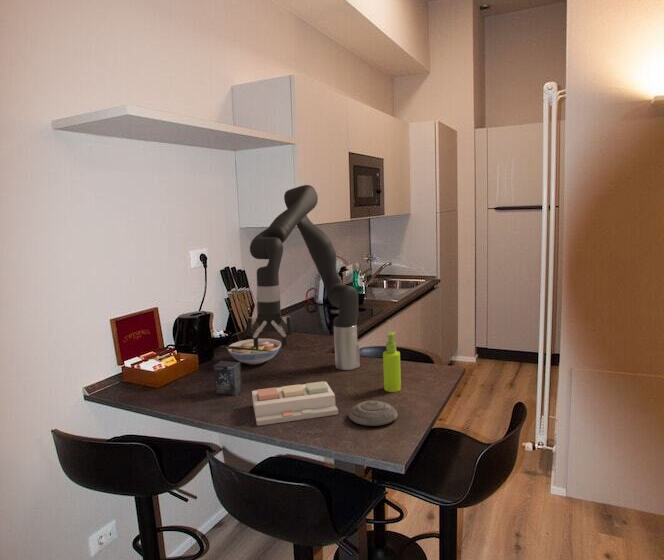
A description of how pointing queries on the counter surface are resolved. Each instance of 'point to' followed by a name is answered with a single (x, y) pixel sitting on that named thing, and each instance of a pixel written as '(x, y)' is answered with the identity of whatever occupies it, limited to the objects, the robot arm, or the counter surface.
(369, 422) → the flying saucer
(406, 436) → the counter surface
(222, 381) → the box
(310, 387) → the sage key
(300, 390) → the sand key
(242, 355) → the ramen bowl
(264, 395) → the coral key
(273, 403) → the keypad
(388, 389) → the soap dispenser
